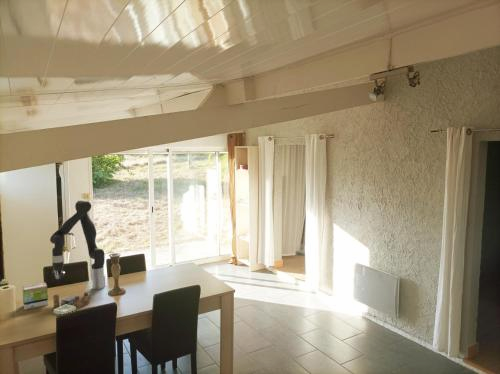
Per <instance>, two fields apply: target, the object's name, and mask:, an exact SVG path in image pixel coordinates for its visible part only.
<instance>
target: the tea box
mask: <svg viewBox="0 0 500 374" xmlns="http://www.w3.org/2000/svg"><path fill="white" fill-rule="evenodd" d="M48 296H49V295H48V285H47V283H46V282H40V283H35V284H30V285H29V284H28V285H23V286H22V304H23V309H24V310H28V309H33V308H38V307H39V308H40V307H43V306H44V305H45V306H48V305H49V302H48V301H49V300H48V299H49V298H48Z"/></svg>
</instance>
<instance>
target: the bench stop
mask: <svg viewBox="0 0 500 374" xmlns="http://www.w3.org/2000/svg"><path fill="white" fill-rule="evenodd" d="M90 303H91V295H90V294H89V292H88V291H86V292H83V295H82V296H80V295H75V300H74V304H73V306H76V310H78V309H79V308H82V307H84V306H85V305H88V304H90Z"/></svg>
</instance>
